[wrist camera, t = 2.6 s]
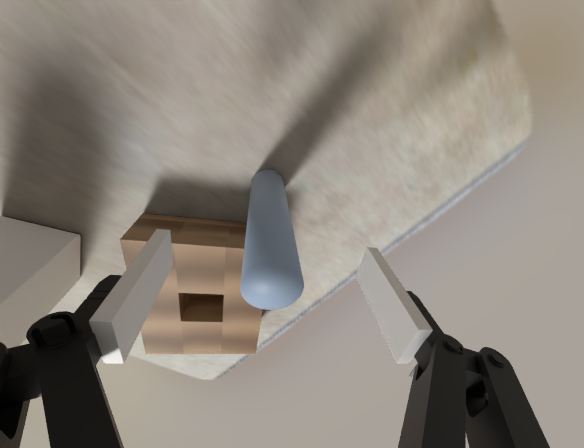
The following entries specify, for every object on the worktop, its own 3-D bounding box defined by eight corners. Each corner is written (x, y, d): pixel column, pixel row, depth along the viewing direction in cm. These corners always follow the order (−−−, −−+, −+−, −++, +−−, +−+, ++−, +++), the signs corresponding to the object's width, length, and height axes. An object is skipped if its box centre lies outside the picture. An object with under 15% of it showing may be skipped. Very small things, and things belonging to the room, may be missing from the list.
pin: (252, 167, 25) (242, 261, 12) (286, 171, 25) (309, 266, 13) (249, 197, 27) (238, 308, 14) (281, 201, 27) (297, 310, 14)
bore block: (143, 213, 26) (119, 239, 22) (270, 225, 29) (272, 250, 24) (160, 320, 35) (146, 353, 31) (256, 322, 38) (255, 353, 33)
